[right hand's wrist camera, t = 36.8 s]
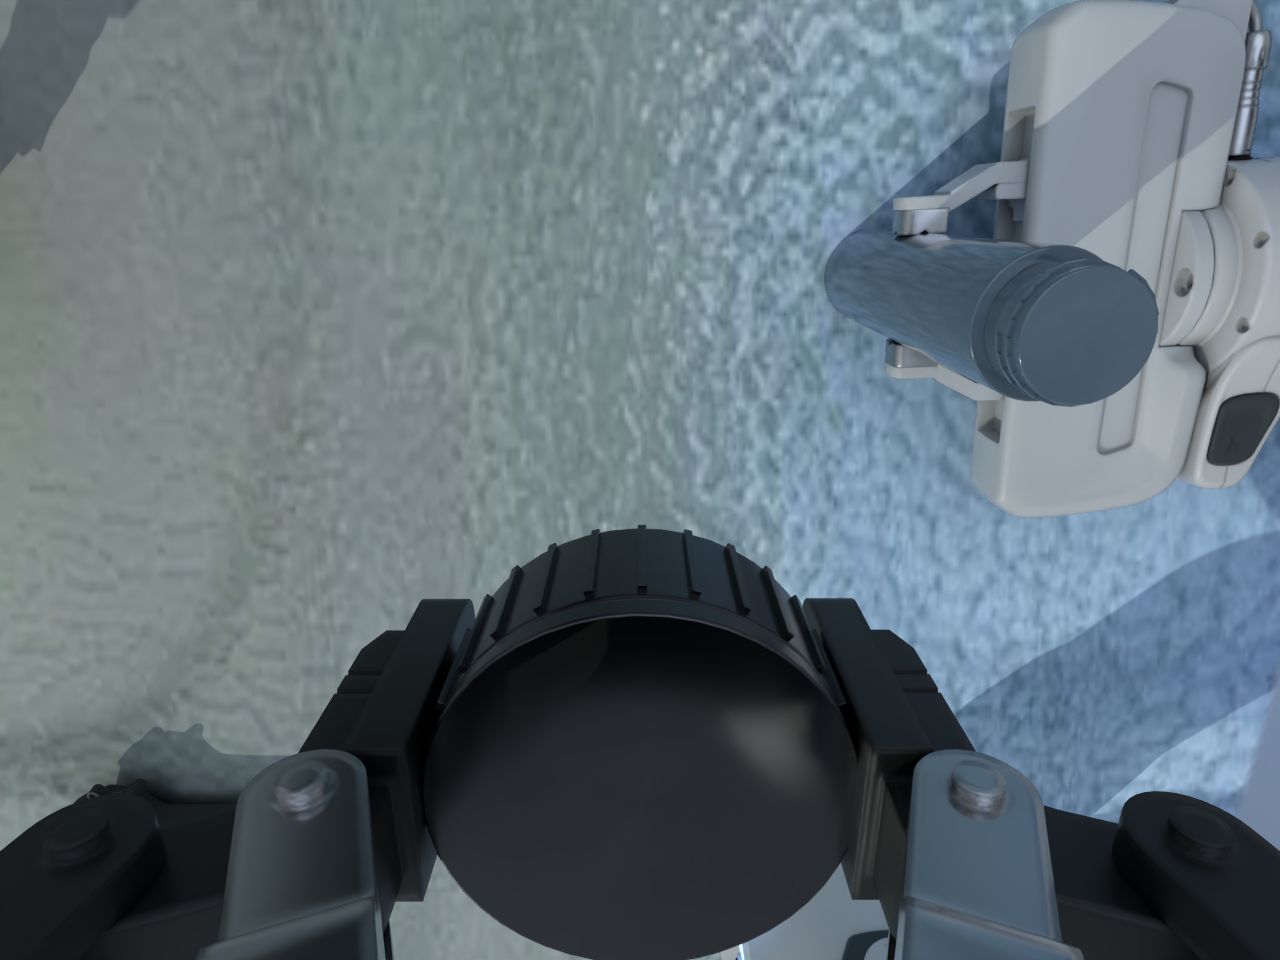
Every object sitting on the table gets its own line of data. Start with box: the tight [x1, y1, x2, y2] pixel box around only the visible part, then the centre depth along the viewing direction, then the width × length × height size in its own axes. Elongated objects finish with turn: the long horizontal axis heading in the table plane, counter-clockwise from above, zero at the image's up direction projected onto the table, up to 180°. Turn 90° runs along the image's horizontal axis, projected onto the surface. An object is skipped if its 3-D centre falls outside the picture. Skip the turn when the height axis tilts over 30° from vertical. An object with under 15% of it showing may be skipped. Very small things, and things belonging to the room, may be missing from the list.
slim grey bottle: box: [825, 228, 1159, 407], centre depth 29 cm, size 4×4×19 cm
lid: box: [421, 525, 858, 960], centre depth 10 cm, size 5×5×2 cm
